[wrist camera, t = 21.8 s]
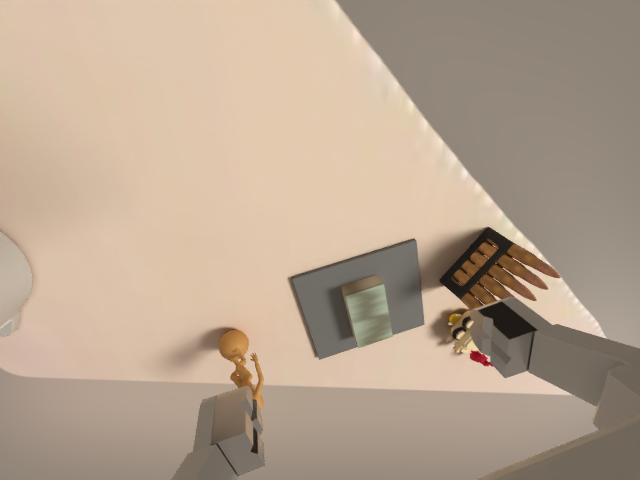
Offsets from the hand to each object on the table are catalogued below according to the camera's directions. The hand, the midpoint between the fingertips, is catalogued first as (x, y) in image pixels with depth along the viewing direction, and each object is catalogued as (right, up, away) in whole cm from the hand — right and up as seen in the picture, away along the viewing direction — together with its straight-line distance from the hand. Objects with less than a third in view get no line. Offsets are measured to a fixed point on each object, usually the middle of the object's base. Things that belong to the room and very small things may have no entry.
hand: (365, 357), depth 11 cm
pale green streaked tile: (+6, -11, +36) cm, 38 cm away
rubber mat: (+5, -5, +35) cm, 36 cm away
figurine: (-13, -10, +34) cm, 37 cm away
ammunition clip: (+21, +2, +36) cm, 41 cm away
